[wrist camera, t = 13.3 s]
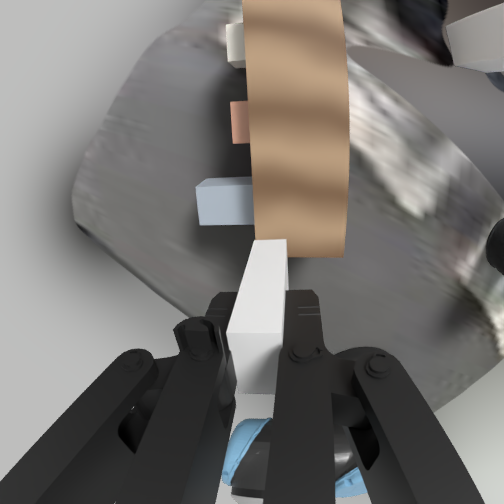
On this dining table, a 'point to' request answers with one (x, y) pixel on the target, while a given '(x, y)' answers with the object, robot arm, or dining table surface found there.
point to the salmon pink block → (240, 122)
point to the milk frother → (496, 247)
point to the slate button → (226, 201)
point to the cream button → (236, 45)
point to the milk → (479, 40)
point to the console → (298, 123)
